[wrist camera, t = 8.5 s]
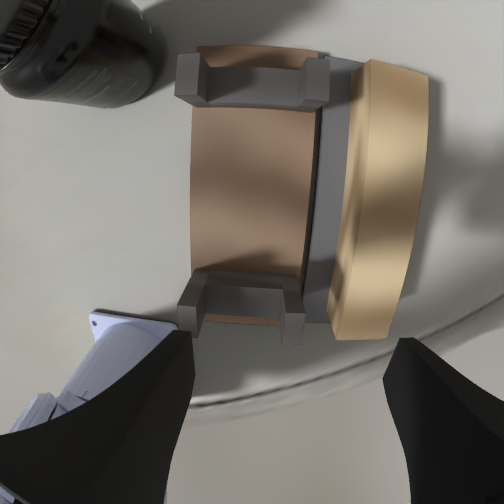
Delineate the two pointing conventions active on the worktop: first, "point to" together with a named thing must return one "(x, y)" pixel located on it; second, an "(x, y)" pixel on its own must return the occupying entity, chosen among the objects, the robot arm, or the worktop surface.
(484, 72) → the worktop surface
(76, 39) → the supplement bottle
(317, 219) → the mat
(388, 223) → the rail
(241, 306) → the stand
